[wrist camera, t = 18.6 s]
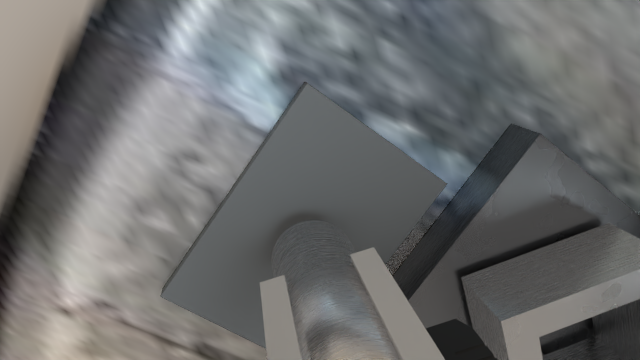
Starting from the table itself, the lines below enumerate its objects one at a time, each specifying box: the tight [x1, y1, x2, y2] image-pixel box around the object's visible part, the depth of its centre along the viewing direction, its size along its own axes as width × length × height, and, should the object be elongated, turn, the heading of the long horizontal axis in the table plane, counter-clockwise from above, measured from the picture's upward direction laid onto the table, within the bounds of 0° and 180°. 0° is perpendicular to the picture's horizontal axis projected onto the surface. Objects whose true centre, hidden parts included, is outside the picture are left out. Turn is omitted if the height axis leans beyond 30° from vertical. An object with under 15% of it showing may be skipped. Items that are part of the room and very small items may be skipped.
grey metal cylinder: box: [271, 220, 401, 360], centre depth 12 cm, size 3×3×11 cm
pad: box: [161, 82, 447, 348], centre depth 19 cm, size 10×7×1 cm
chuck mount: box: [393, 124, 640, 356], centre depth 21 cm, size 11×11×2 cm
